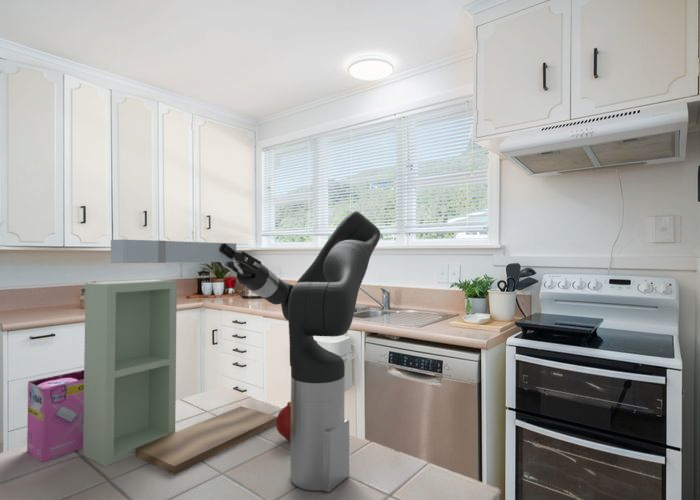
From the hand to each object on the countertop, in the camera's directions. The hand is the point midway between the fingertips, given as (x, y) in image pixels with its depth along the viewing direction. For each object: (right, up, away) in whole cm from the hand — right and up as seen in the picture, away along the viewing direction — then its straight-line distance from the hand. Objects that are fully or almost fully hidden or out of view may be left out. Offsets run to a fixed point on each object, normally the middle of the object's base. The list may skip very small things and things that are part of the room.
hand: (214, 246), depth 99 cm
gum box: (-20, -40, -13) cm, 47 cm away
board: (+4, -40, -14) cm, 42 cm away
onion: (+21, -40, -15) cm, 47 cm away
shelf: (-11, -40, -18) cm, 45 cm away
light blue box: (-5, -3, -8) cm, 10 cm away
